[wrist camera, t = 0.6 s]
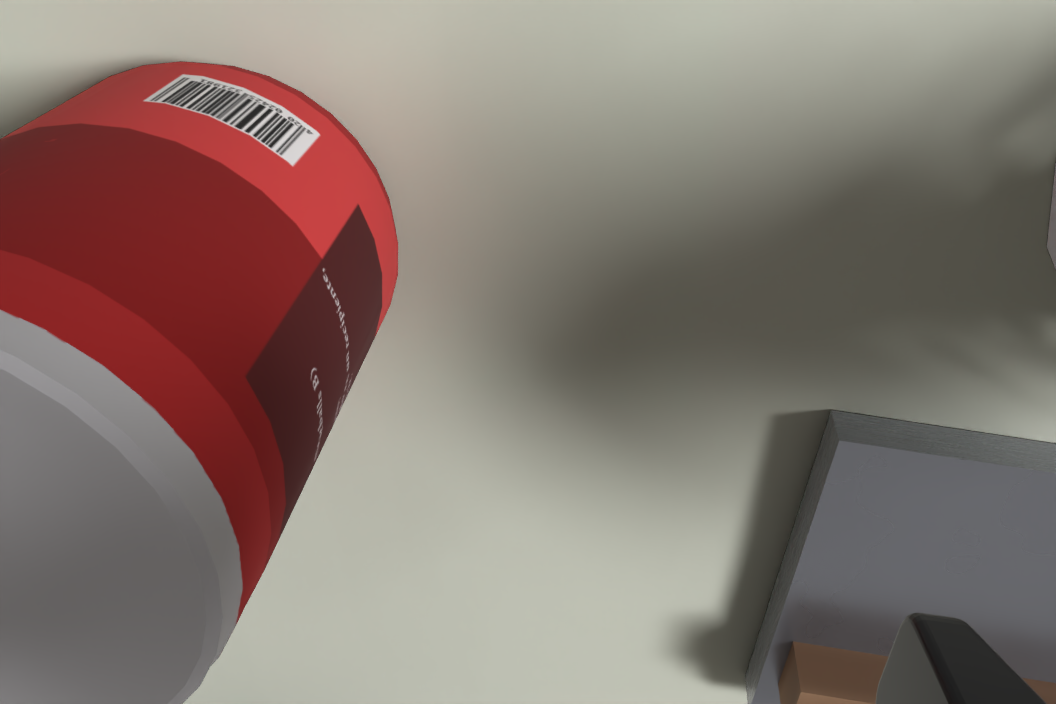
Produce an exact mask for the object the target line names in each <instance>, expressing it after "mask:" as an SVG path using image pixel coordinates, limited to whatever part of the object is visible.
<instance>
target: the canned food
mask: <svg viewBox="0 0 1056 704" xmlns="http://www.w3.org/2000/svg"><path fill="white" fill-rule="evenodd" d="M397 276H398V241H397V235H396V229H395V224H394V220H393V215H392V210H391V206H390V201H389V197H388V195H387V192H386V190H385V188H384V186H383V183H382V181H381V179H380V176H379V174H378V172H377V169H376V167H375V166H374V164H373V163H372V162H371V160H370V159H369V157H368V156H367V154H366V153H365V151H364V150H363V148H362V147H361V145H360V144H359V142H358V141H357V139H356V138H355V137H354V136H353V135H352V134H351V133H350V132H349V131H348V130H347V129H346V128H345V127H344V126H343V125H342V124H341V123H340V122H339V121H338V120H337V119H336V118H335V117H334V116H333V115H332V114H331V113H330V112H328V111H327V110H325V109H324V108H323V107H321V106H320V105H319V104H317V103H316V102H314V101H313V100H312V99H310V98H309V97H307V96H306V95H305V94H303V93H302V92H300V91H298V90H296V89H294V88H292V87H290V86H288V85H286V84H284V83H282V82H279V81H277V80H275V79H273V78H271V77H269V76H266V75H263V74H259V73H256V72H252V71H249V70H245V69H242V68H238V67H235V66H227V65H217V64H207V63H195V62H172V63H162V64H152V65H143V66H140V67H137V68H134V69H131V70H128V71H125V72H122V73H119V74H116V75H113V76H110V77H108V78H106V79H105V80H103V81H101V82H99V83H98V84H96V85H94V86H92V87H91V88H89V89H87V90H85V91H84V92H82V93H80V94H78V95H77V96H75V97H73V98H71V99H70V100H68V101H66V102H64V103H63V104H61V105H59V106H57V107H56V108H54V109H52V110H50V111H49V112H47V113H45V114H43V115H42V116H40V117H38V118H36V119H35V120H33V121H31V122H29V123H28V124H26V125H24V126H22V127H21V128H19V129H17V130H16V131H14V132H12V133H10V134H9V135H7V136H5V137H3V138H2V139H0V704H182V703H183V702H184V701H185V700H186V699H187V698H188V697H189V696H190V695H191V694H192V693H193V692H194V691H195V690H196V689H197V688H198V687H199V686H200V685H201V683H202V681H203V679H204V677H205V675H206V673H207V671H208V669H209V667H210V666H211V665H212V664H213V663H214V662H215V661H216V660H217V659H218V658H219V656H220V654H221V653H222V651H223V649H224V647H225V645H226V643H227V641H228V639H229V637H230V635H231V634H232V632H233V630H234V628H235V626H236V624H237V622H238V620H239V618H240V616H241V614H242V612H243V610H244V607H245V605H246V604H247V602H248V600H249V598H250V596H251V594H252V593H253V591H254V589H255V587H256V585H257V583H258V581H259V579H260V577H261V575H262V574H263V572H264V570H265V568H266V565H267V563H268V561H269V559H270V557H271V555H272V553H273V551H274V549H275V547H276V544H277V542H278V540H279V538H280V536H281V534H282V532H283V530H284V528H285V525H286V523H287V521H288V519H289V517H290V515H291V513H292V511H293V509H294V506H295V504H296V502H297V500H298V498H299V496H300V494H301V492H302V490H303V488H304V485H305V483H306V481H307V479H308V477H309V475H310V473H311V471H312V469H313V466H314V464H315V462H316V460H317V458H318V456H319V454H320V452H321V450H322V447H323V445H324V443H325V441H326V439H327V437H328V435H329V433H330V431H331V429H332V426H333V424H334V422H335V420H336V418H337V416H338V414H339V412H340V410H341V407H342V405H343V403H344V401H345V399H346V397H347V395H348V393H349V391H350V388H351V386H352V384H353V382H354V380H355V378H356V376H357V374H358V372H359V370H360V367H361V365H362V363H363V361H364V359H365V357H366V355H367V353H368V351H369V348H370V346H371V344H372V342H373V340H374V338H375V336H376V334H377V332H378V330H379V327H380V325H381V323H382V321H383V319H384V317H385V315H386V313H387V311H388V308H389V306H390V304H391V300H392V296H393V292H394V288H395V284H396V280H397Z"/></svg>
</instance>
